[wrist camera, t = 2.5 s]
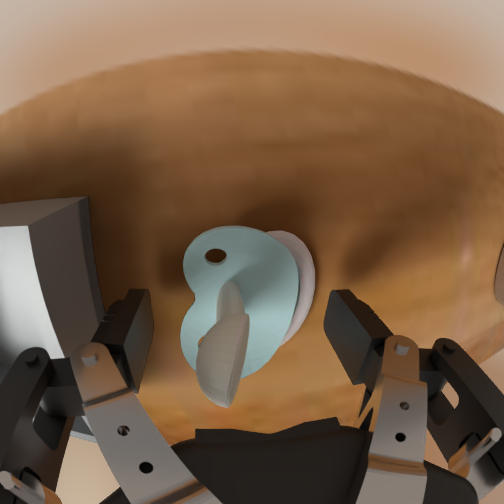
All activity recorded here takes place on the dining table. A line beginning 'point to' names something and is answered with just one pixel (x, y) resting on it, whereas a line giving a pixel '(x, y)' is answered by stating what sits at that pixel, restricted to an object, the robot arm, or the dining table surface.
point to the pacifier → (243, 303)
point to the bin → (48, 283)
